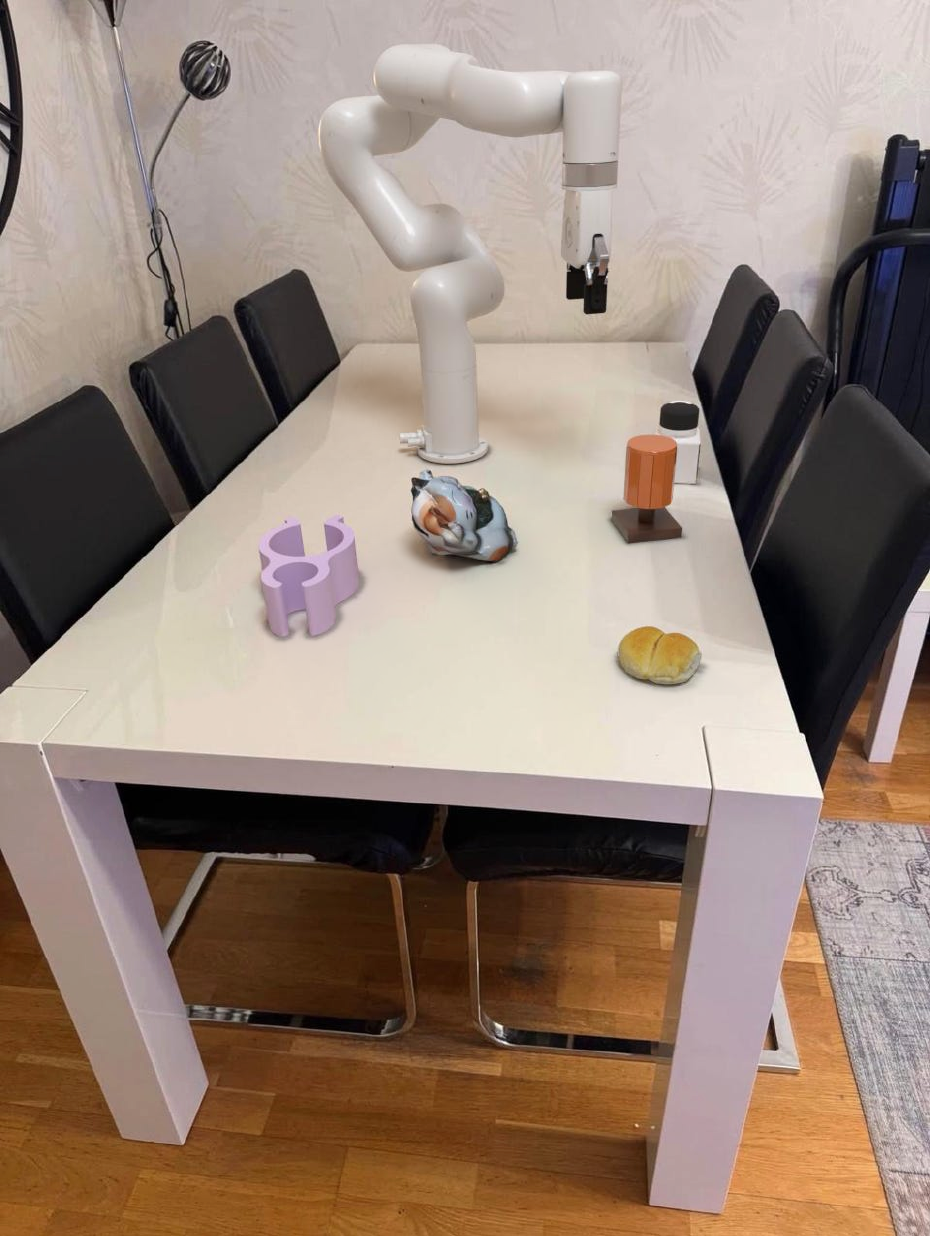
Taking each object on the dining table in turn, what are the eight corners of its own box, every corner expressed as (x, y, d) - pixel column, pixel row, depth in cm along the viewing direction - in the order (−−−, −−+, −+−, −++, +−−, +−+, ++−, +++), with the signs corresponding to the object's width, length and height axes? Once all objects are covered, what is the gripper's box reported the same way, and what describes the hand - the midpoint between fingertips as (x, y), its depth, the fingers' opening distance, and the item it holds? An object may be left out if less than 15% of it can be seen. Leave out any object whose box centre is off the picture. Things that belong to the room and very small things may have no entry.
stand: (627, 543, 128) (632, 459, 121) (611, 520, 135) (615, 439, 128) (681, 537, 129) (689, 454, 122) (662, 514, 135) (669, 434, 129)
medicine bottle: (696, 484, 144) (704, 412, 138) (651, 482, 146) (656, 411, 140) (695, 468, 150) (703, 398, 144) (652, 466, 152) (657, 396, 146)
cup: (632, 511, 126) (636, 453, 121) (618, 492, 132) (621, 436, 127) (679, 506, 127) (684, 449, 122) (662, 487, 132) (667, 432, 128)
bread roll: (634, 637, 107) (636, 608, 105) (707, 658, 102) (710, 628, 100) (604, 672, 101) (605, 642, 99) (680, 695, 97) (683, 665, 95)
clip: (349, 634, 110) (342, 585, 106) (247, 637, 110) (238, 588, 106) (364, 558, 127) (359, 514, 123) (276, 561, 127) (269, 517, 123)
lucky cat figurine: (528, 560, 124) (496, 495, 114) (451, 598, 125) (412, 538, 115) (495, 492, 134) (462, 426, 123) (423, 529, 135) (385, 467, 124)
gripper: (548, 172, 130) (546, 295, 138) (579, 184, 115) (575, 321, 124) (598, 169, 130) (593, 292, 139) (636, 181, 116) (628, 317, 125)
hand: (585, 305), depth 132 cm, fingers open, 9 cm apart
